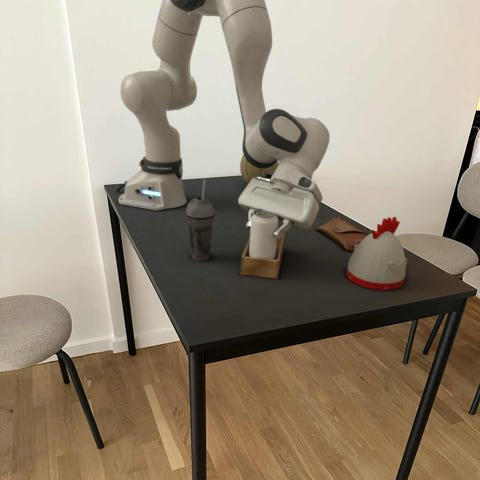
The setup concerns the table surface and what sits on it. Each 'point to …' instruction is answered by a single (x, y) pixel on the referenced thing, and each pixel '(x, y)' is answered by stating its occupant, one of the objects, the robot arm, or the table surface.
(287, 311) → the table surface
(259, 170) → the cantaloupe
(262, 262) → the organizer
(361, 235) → the sunglasses case
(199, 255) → the beverage cup
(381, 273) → the kitchen timer
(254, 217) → the can
